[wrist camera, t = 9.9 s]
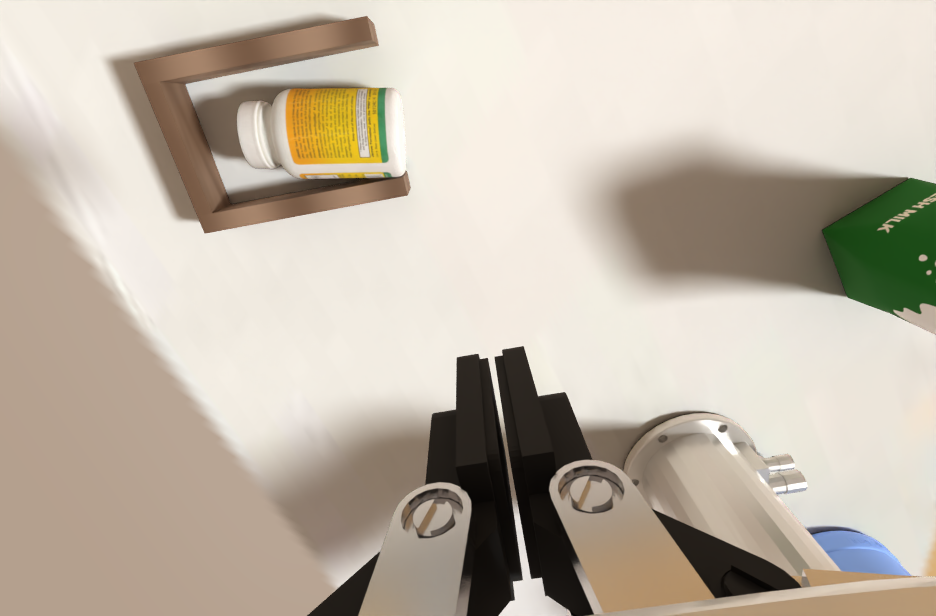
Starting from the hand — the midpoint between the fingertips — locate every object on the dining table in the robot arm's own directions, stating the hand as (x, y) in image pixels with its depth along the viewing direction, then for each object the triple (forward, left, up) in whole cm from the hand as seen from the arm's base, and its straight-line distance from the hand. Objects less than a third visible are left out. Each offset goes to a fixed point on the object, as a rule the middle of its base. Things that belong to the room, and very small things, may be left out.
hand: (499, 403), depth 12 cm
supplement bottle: (+3, -6, -22) cm, 23 cm away
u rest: (+11, -7, -25) cm, 28 cm away
